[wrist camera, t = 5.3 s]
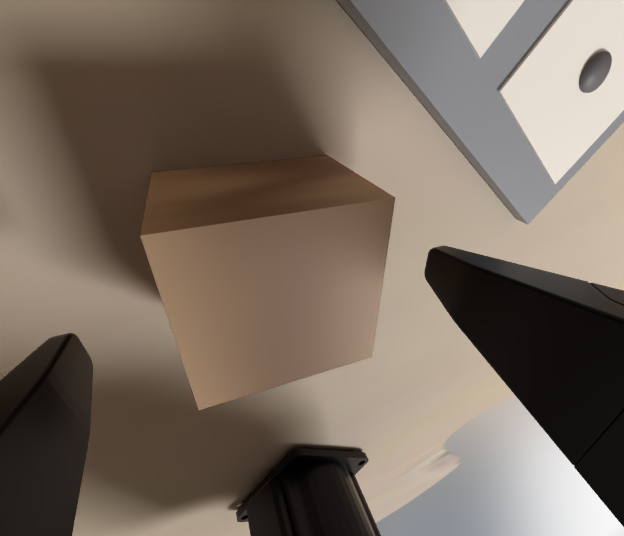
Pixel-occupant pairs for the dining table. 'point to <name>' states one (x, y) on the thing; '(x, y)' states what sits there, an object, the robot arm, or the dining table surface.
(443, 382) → the dining table surface
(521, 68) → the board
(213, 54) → the dining table surface
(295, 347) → the brown wooden block
